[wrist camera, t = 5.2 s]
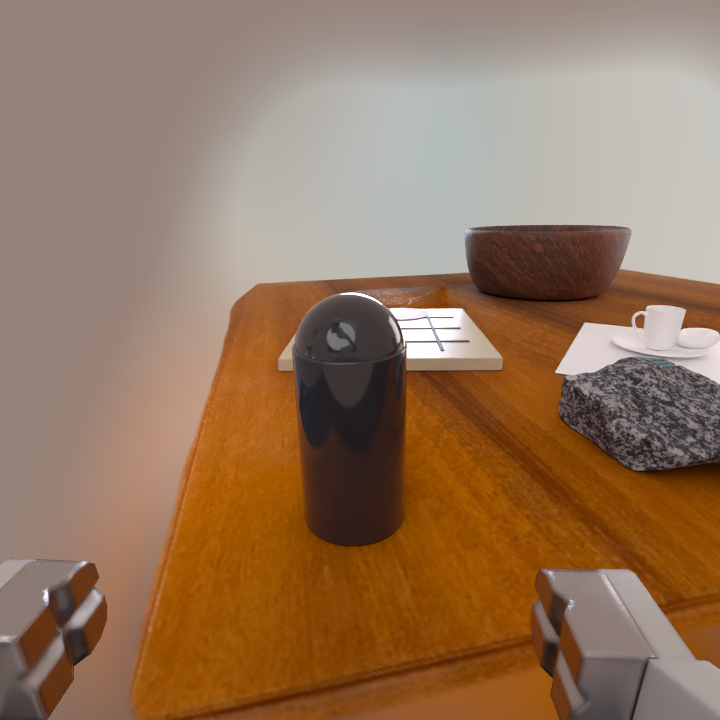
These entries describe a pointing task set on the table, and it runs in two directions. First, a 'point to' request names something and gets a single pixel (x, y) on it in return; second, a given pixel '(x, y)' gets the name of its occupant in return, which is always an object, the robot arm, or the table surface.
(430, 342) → the board
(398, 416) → the dome-topped canister
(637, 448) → the rock
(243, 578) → the table surface
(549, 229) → the wooden bowl
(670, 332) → the teacup and saucer
